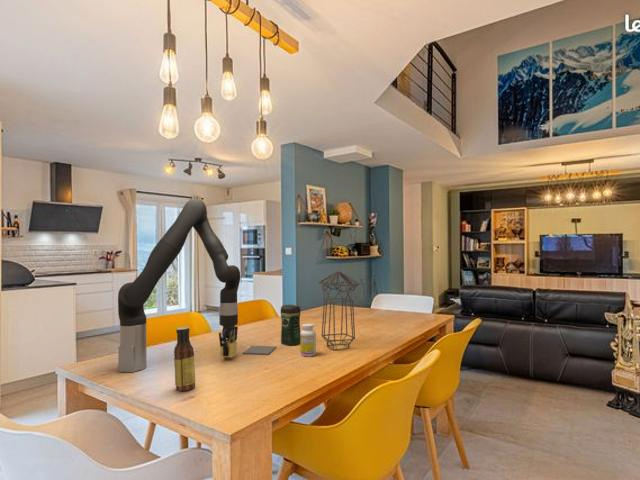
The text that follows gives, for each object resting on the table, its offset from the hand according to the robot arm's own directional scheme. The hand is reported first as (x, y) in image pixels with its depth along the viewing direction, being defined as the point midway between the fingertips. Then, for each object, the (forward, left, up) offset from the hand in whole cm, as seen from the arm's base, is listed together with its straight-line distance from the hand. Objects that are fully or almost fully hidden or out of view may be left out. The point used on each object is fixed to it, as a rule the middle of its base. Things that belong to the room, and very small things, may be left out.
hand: (228, 354), depth 155 cm
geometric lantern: (+24, -44, -2) cm, 50 cm away
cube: (0, 0, 0) cm, 0 cm away
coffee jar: (+28, -20, -2) cm, 34 cm away
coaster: (+14, -9, -2) cm, 16 cm away
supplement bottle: (+10, -32, -2) cm, 33 cm away
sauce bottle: (-33, +1, -2) cm, 33 cm away
